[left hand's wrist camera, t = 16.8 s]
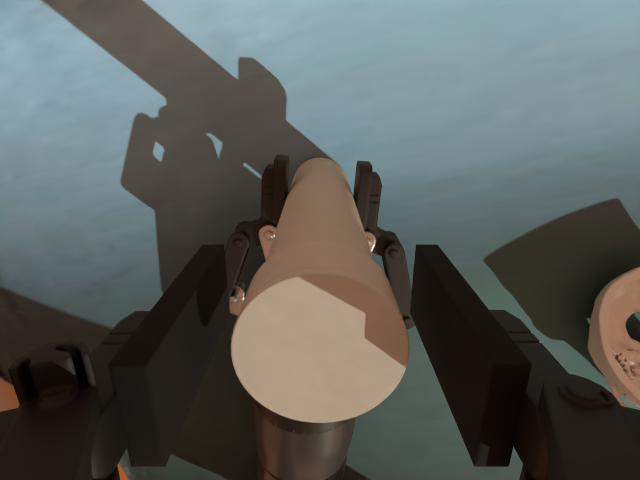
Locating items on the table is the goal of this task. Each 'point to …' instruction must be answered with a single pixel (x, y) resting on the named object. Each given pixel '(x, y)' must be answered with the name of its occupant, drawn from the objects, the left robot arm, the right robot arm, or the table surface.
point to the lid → (319, 334)
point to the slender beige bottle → (319, 209)
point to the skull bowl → (617, 336)
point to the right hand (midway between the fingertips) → (322, 161)
